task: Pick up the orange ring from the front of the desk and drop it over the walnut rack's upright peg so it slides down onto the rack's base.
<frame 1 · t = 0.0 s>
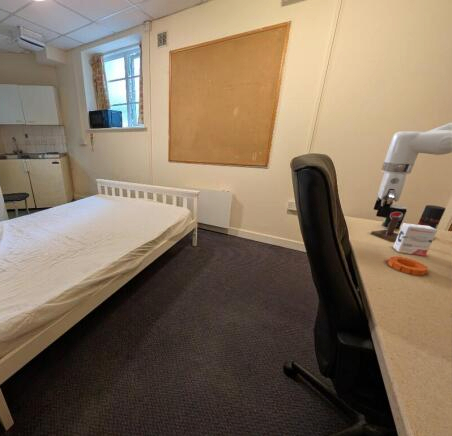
hand: (380, 213, 84), 18 cm above the table, tool pointing down, fingers open, 9 cm apart
rack: (388, 236, 106), on the table
orange ring: (405, 267, 82), on the table
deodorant: (422, 236, 107), on the table
beverage can: (389, 228, 116), on the table
ink box: (408, 252, 93), on the table
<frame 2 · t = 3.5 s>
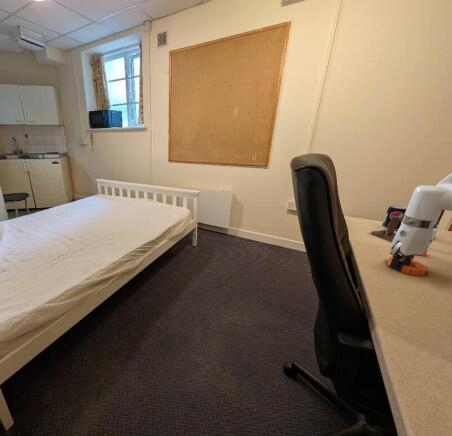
hand: (398, 268, 81), 0 cm above the table, tool pointing down, fingers closed on orange ring, 2 cm apart
orange ring: (405, 267, 82), on the table, touching gripper
everything else where it was.
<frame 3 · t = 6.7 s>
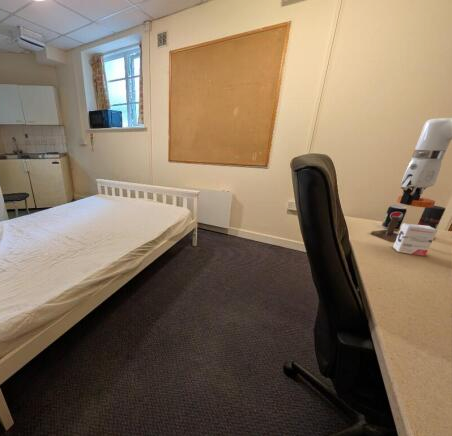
hand: (408, 203, 86), 21 cm above the table, tool pointing down, fingers closed on orange ring, 2 cm apart
orange ring: (414, 203, 87), point 21 cm above the table, touching gripper
everything else where it was.
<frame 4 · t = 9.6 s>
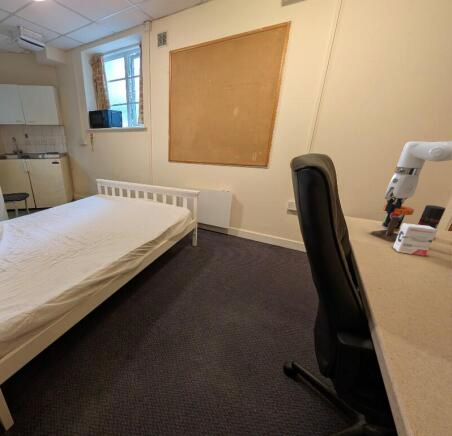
hand: (391, 211, 101), 13 cm above the table, tool pointing down, fingers closed on orange ring, 2 cm apart
orange ring: (397, 211, 102), point 13 cm above the table, touching gripper
everything else where it was.
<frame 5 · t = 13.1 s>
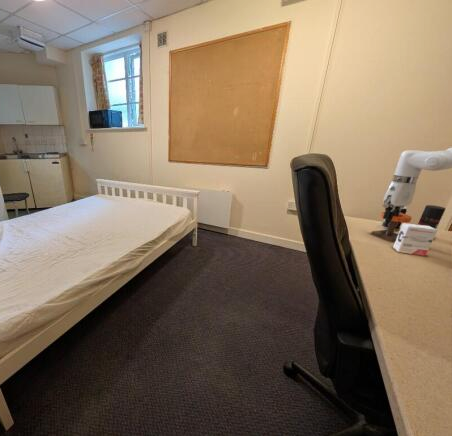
hand: (389, 218, 102), 10 cm above the table, tool pointing down, fingers closed on orange ring
orange ring: (395, 218, 103), point 9 cm above the table, touching gripper
everything else where it was.
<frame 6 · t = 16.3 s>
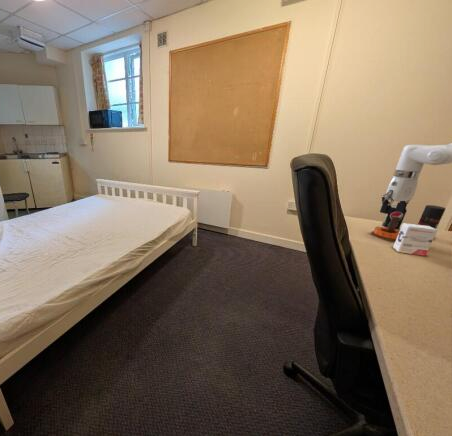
hand: (391, 212, 101), 13 cm above the table, tool pointing down, fingers open, 8 cm apart
orange ring: (387, 234, 105), point 1 cm above the table, touching rack
everything else where it was.
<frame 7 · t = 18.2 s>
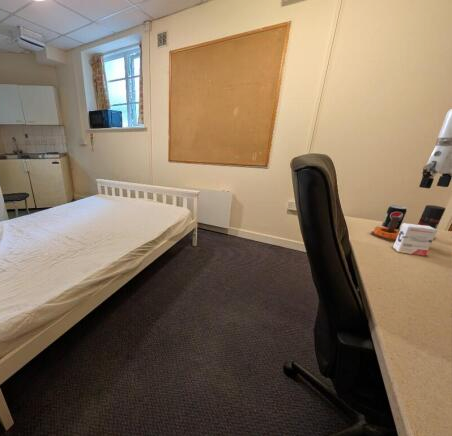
hand: (433, 187, 89), 26 cm above the table, tool pointing down, fingers open, 9 cm apart
nothing on the table moved.
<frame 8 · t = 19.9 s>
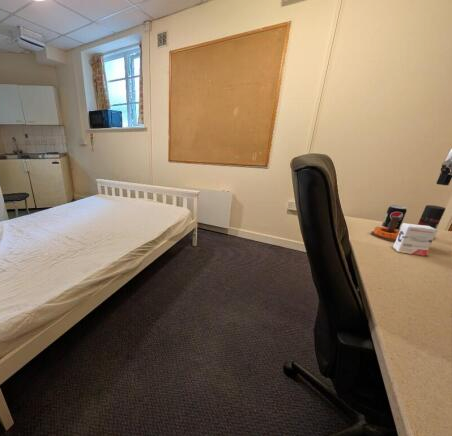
hand: (451, 184, 86), 28 cm above the table, tool pointing down, fingers open, 9 cm apart
nothing on the table moved.
at the end: orange ring 1.5 cm off-centre on the rack, point 1.5 cm above the rack's base; the gripper is holding nothing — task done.
